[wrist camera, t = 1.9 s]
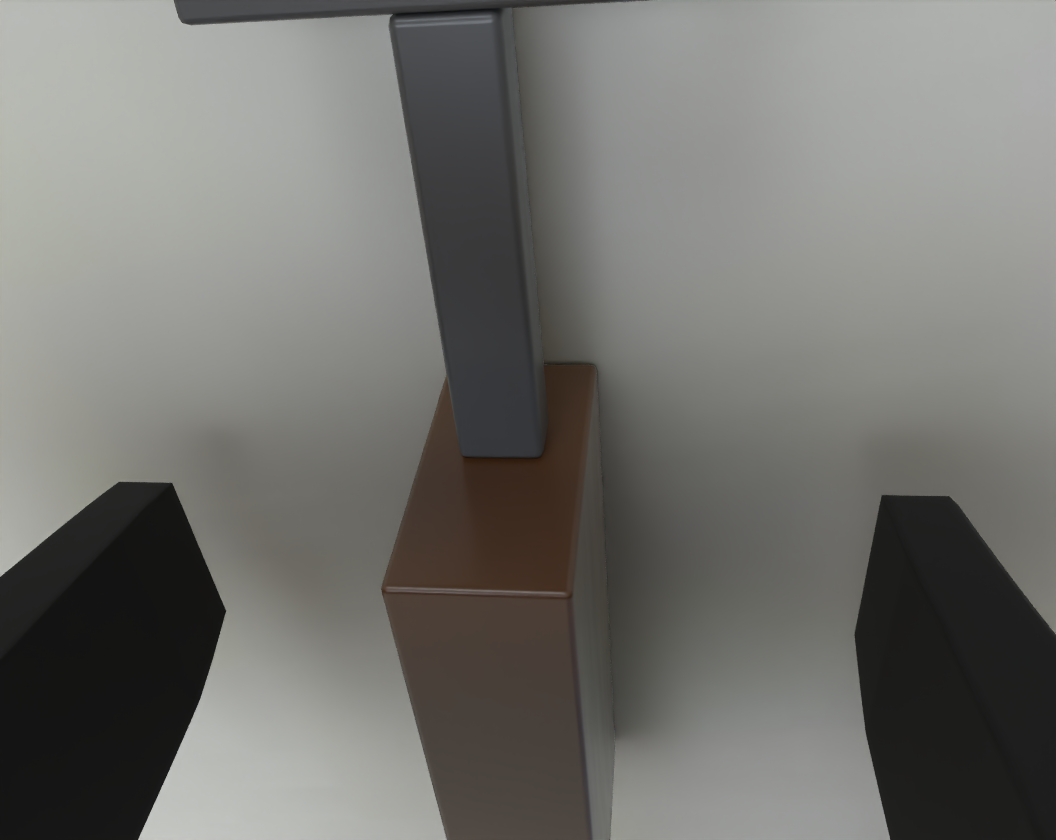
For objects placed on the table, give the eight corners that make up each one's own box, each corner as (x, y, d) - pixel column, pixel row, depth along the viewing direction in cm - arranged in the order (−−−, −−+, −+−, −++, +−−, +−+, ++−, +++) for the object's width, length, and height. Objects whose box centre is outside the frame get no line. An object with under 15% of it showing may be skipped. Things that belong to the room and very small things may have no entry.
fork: (689, 748, 14) (693, 981, 12) (439, 735, 15) (391, 954, 12) (739, -646, 6) (791, -869, 3) (127, -554, 6) (-240, -687, 4)
